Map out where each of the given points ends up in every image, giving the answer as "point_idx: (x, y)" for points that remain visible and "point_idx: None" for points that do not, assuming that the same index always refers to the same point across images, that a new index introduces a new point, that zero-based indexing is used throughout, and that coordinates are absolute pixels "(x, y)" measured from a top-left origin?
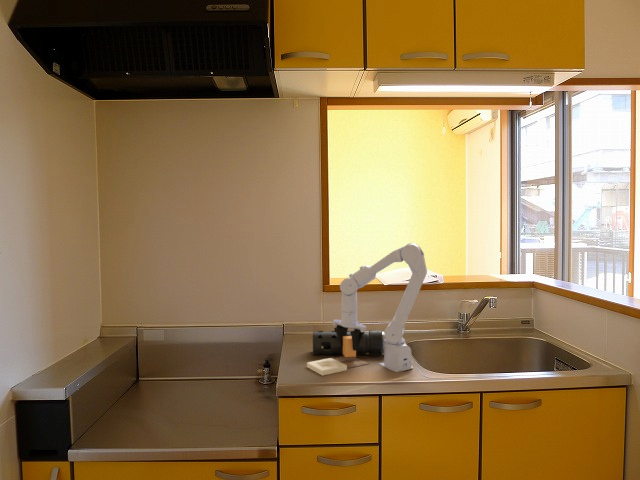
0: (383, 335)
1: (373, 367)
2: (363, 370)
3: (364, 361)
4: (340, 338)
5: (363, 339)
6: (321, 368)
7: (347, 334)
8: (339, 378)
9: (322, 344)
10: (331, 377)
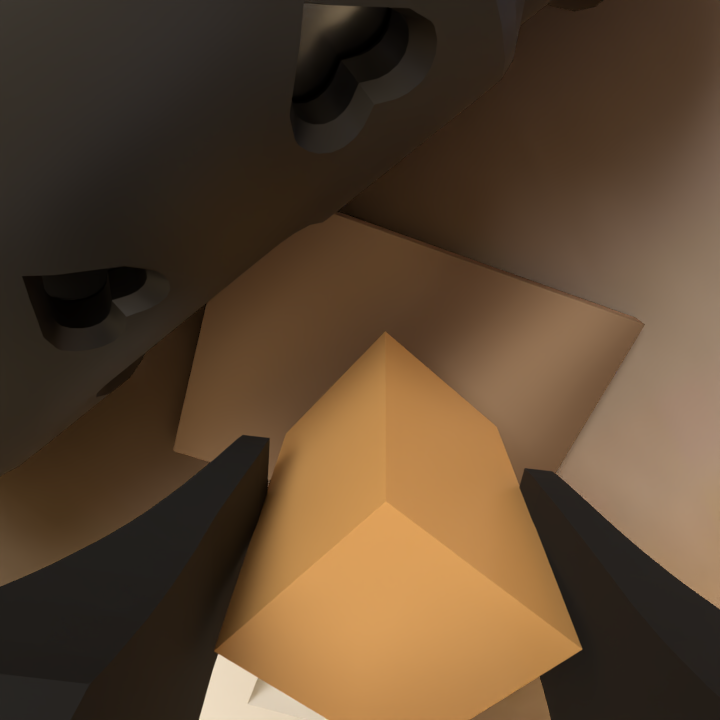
0: None
1: (710, 356)
2: (643, 486)
3: (557, 301)
4: (216, 654)
5: (461, 66)
6: None
7: (21, 264)
8: (543, 703)
9: None
10: (480, 714)
